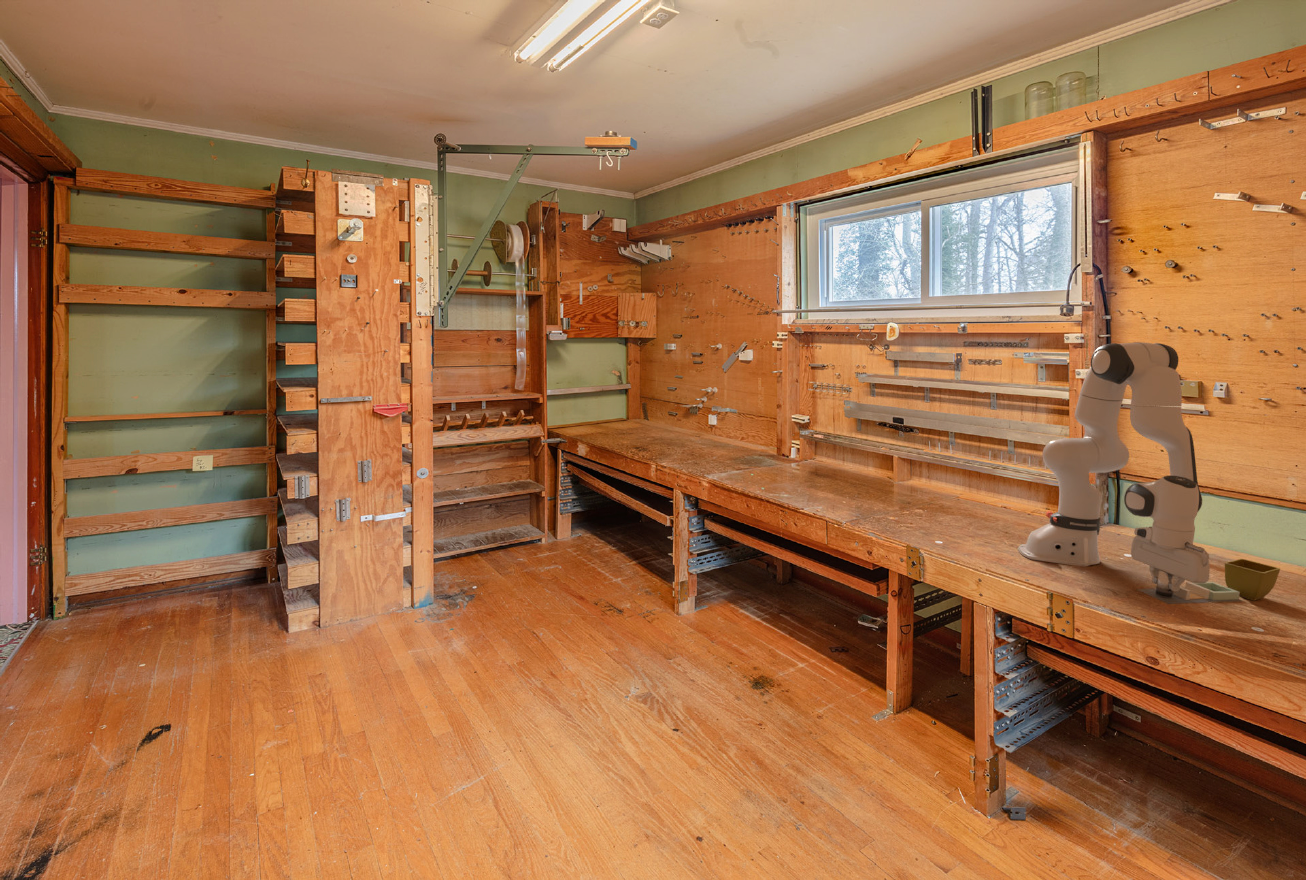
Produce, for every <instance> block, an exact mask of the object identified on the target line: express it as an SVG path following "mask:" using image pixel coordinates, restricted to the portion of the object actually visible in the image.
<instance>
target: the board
mask: <svg viewBox="0 0 1306 880" xmlns="http://www.w3.org/2000/svg"><path fill="white" fill-rule="evenodd" d="M1136 591H1138V592H1141V593H1144V594H1145V595H1148V596H1149V597H1152V598H1153V599H1154V598H1155V599H1157V600H1158V601H1162V602H1163V603H1166V604H1167V605H1176V604H1177V605H1179V604H1203V603H1206V604H1207V603H1229V602H1231V603H1232V602H1234V603H1235V602H1243V600H1241V599H1240V598H1239V599H1232V600H1212V599H1189V600H1185V599H1183V598H1180V597H1178V596H1176V595H1173V596H1172V598H1170V599H1168V598H1162V597H1159V596H1156V595H1155V592H1156V588H1142V589H1141V588H1140V589H1139V588H1137V589H1136ZM1212 591H1213V590H1212Z"/></svg>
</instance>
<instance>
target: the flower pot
mask: <svg viewBox="0 0 1306 880" xmlns="http://www.w3.org/2000/svg"><path fill="white" fill-rule="evenodd" d="M1280 571H1281V568H1280V567H1277V566H1272V565H1270V564H1269V565H1268V564H1264V563H1260V562H1258V561H1253V560H1248V559H1246V558H1245V559H1244V558H1239V559H1235V560H1231V561H1226V562H1224V581H1225V585H1226V587H1228V588H1230V589H1233V590H1236V591H1238V592H1240V594H1239V598H1240V597H1242V598H1243V599H1247V600H1249V601H1258V600H1260V599H1263V598H1265V597H1266V596H1267V595H1269V594H1270V592H1271V591H1272V590H1273V589H1274V587H1275V585H1276V582H1277V580H1278V578H1279V574H1280Z"/></svg>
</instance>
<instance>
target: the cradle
mask: <svg viewBox="0 0 1306 880" xmlns="http://www.w3.org/2000/svg"><path fill="white" fill-rule="evenodd" d="M1209 594H1210V590H1208V589H1206V588H1203V587H1201V586H1198V585H1196V584H1193V583H1191V582H1190V581H1185V586H1184V587H1182V586H1180V587H1179V591H1178V592H1174V591H1173V595H1176V596H1178V597H1180V598H1183V599H1185V600H1189V599H1209Z"/></svg>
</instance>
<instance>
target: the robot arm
mask: <svg viewBox="0 0 1306 880" xmlns="http://www.w3.org/2000/svg"><path fill="white" fill-rule="evenodd" d="M1178 366H1179V355H1178V352H1177V350H1175V348H1174V347H1172V346H1170V345H1168V344H1164V343H1157V342H1156V343H1155V342H1154V343H1151V342H1141V341H1140V342H1139V341H1136V342H1135V341H1134V342H1124V343H1116V342H1113V343H1107V344H1103V345H1101V346H1099V347H1097V348H1096V349H1095V350H1094V352H1093V353H1092V355H1091V358H1090V367H1089V368H1088V371H1087V373H1086V375H1085V377H1084V380H1083V383H1082V384H1081V389H1080V391H1079V395H1078V399H1077V403H1076V407H1075V411H1074V419H1075V420H1076V422H1077V423H1079V424H1080V425H1081V426H1083V429H1084V435H1083V437H1063V438H1059V439H1056V440H1055V439H1054V440H1051V441H1049V442H1047V443H1046V444H1045V446H1044V447H1043V450H1042V455H1041V456H1042V461H1043V463H1044V465H1045V467H1046V468H1047V469H1049V470H1050V471H1051V472H1052V473H1053V475H1054V476H1055V478H1056V480H1057V483H1058V490H1059V491H1058V492H1059V495H1058V496H1059V498H1058V509H1057V511H1056V512H1054V513H1053V512H1052V511H1050V510H1049V511H1048V510H1047V512H1046V513H1045V516H1046V517H1047V519H1049V523H1047V524H1045V525H1042V526H1041V527H1038V528H1037V529H1034V530H1032V531H1031V532H1030V533H1029V535H1028V538H1027V540H1026V543H1024V544H1023V543H1022V544H1020V545H1019V546H1018V548H1017V549H1018V552H1019V553H1020V554H1021V555H1022V556H1024V557H1025V558H1028V559H1030V560H1033V561H1039V562H1049V563H1054V564H1060V565H1061V564H1062V565H1068V566H1069V565H1070V566H1075V567H1088V566H1092V565H1093V566H1094V565H1098V564H1100V563H1101V558H1100V553H1099V539H1098V536H1099V534H1100V530H1101V517H1100V513H1101V505H1102V493H1101V491H1100V490H1099V489H1098V488H1097V487H1096V486H1094V485H1092V484H1091V481H1090V473H1091V474H1093V473H1097V474H1099V473H1102V474H1103V473H1106V474H1107V473H1109V472H1111V473H1112V472H1114V471H1119V470H1122V469H1123V468H1125V467H1126V465H1127V464H1128V462H1129V458H1130V453H1129V449H1128V447H1127V445H1126V444H1125V443H1124V442H1123V441H1122V440H1121V438H1120V436H1119V431H1118V420H1119V416H1120V411H1121V408H1122V404H1123V401H1124V397H1125V392H1126V388H1127V387H1128V386H1129V387H1130V389H1131V400H1130V409H1129V410H1130V412H1129V419H1130V420H1129V421H1130V424H1131V426H1132V428H1133V429H1134V430H1135V432H1136V433H1138V434H1139V435H1141V436H1142V437H1144V438H1146V439H1147V440H1148V439H1149V440H1151V441H1154V442H1155V443H1158V444H1159V445H1161V446H1162V447H1163V448H1164V449H1165V450H1166V453H1167V455H1168V456H1167V457H1168V464H1169V473H1170V475H1165V476H1162V477H1160V479H1159V478H1158V479H1157V480H1153V481H1145V482H1137V483H1132V484H1131V485H1130V486H1128V488H1127V489H1126V490H1125V493H1124V497H1123V498H1124V499H1123V500H1124V501H1123V502H1124V505H1125V509H1127V510H1128V511H1129V513H1131V514H1132V515H1133V516H1137V517H1139V518H1140V517H1142V518H1151V519H1152V520H1153V522H1152V526H1149V527H1148V526H1146V527H1145V526H1143V527H1142V526H1141V527H1136V528H1134V530H1133V531H1134V532H1133V533H1134V535H1135V536H1134V537H1133V538H1132V543H1131V548H1130V555H1131V558H1132V560H1135V561H1137V562H1139V563H1142V564H1144V565H1147V566H1148V567H1149V568H1148V570H1149V572H1150V574H1151V583H1153V584H1156V585H1157V578H1158V571H1159V569H1160V570H1162V571H1165V572H1167V573H1170V574H1172V575H1174V577H1173V579H1175V581H1174V582H1173V583H1169V587H1168V589H1169V590H1171V591H1174V592H1178V591H1179V587H1181V585H1182V584H1183V583H1184V582H1192V583H1206V582H1209V580H1210V567H1211V566H1210V555H1209V553H1208V552H1207V550H1206V549H1205V548H1204V547H1202V546H1197V545H1195V544H1194V538H1195V533H1196V526H1195V520H1196V517H1197V515H1198V513H1199V512H1200V509H1201V508H1202V505H1203V496H1202V493H1201V489H1200V486H1199V483H1198V474H1197V465H1196V464H1197V463H1196V454H1195V446H1194V439H1193V435H1192V431H1191V430H1190V428H1188V427H1187V426H1186V424H1185V422H1184V419H1183V415H1182V401H1183V400H1182V398H1183V397H1182V384H1181V379H1180V374H1179V372H1178V371H1177V369H1178Z"/></svg>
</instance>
